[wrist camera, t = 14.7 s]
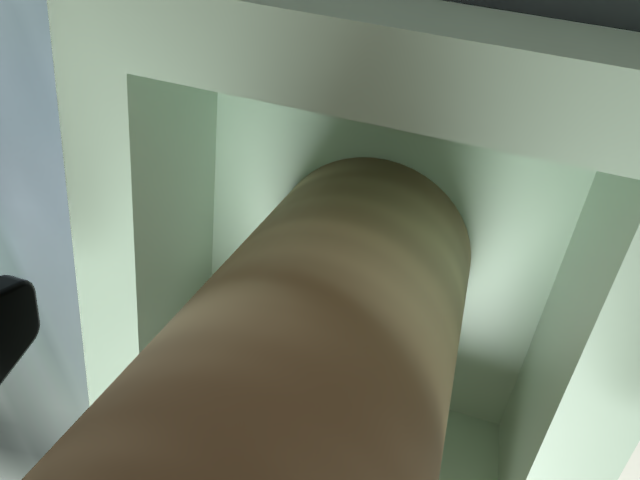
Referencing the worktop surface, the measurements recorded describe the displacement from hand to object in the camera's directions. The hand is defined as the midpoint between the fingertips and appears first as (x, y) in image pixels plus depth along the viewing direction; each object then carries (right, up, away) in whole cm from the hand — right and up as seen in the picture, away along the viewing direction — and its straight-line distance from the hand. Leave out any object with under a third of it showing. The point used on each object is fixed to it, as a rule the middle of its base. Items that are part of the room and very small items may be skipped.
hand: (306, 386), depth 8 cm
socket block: (+2, +2, +4) cm, 5 cm away
